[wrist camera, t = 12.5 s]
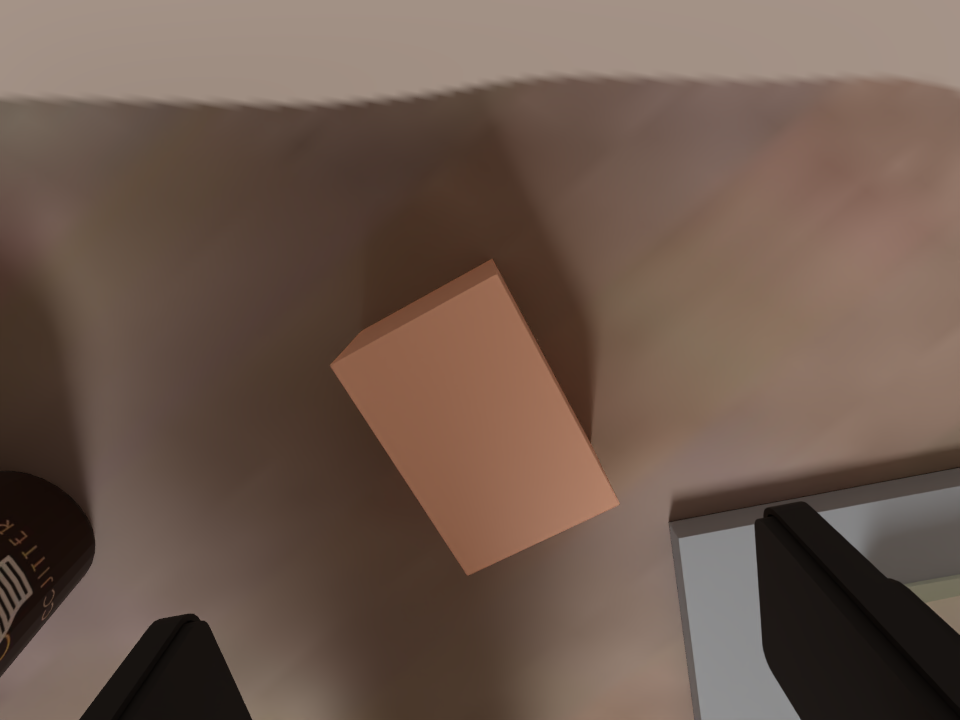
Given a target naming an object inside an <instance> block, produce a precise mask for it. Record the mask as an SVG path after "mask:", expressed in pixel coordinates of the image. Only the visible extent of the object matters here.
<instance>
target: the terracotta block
mask: <svg viewBox="0 0 960 720" xmlns="http://www.w3.org/2000/svg"><path fill="white" fill-rule="evenodd" d="M330 366H331V368H332V370H333V371H334V373H335V374H336V376H337V377H338V379H339V380H340V382H341V383H342V385H343V386H344V388H345V389H346V391H347V392H348V394H349V395H350V397H351V399H352V400H353V402H354V403H355V405H356V406H357V408H358V409H359V411H360V412H361V414H362V415H363V417H364V418H365V420H366V421H367V423H368V425H369V426H370V428H371V429H372V431H373V432H374V434H375V435H376V437H377V438H378V440H379V441H380V443H381V444H382V446H383V447H384V449H385V451H386V452H387V454H388V455H389V457H390V458H391V460H392V461H393V463H394V464H395V466H396V467H397V469H398V470H399V472H400V473H401V475H402V477H403V478H404V480H405V481H406V483H407V484H408V486H409V487H410V489H411V490H412V492H413V493H414V495H415V496H416V498H417V499H418V501H419V502H420V504H421V506H422V507H423V509H424V510H425V512H426V513H427V515H428V516H429V518H430V519H431V521H432V522H433V524H434V525H435V527H436V528H437V530H438V532H439V533H440V535H441V536H442V538H443V539H444V541H445V542H446V544H447V545H448V547H449V548H450V550H451V551H452V553H453V554H454V556H455V558H456V559H457V561H458V562H459V564H460V565H461V567H462V568H463V570H464V571H465V573H466V574H467V576H469V575H471V574H473V573H475V572H477V571H479V570H481V569H484V568H486V567H488V566H490V565H492V564H494V563H496V562H498V561H501V560H503V559H505V558H507V557H509V556H511V555H513V554H516V553H518V552H520V551H522V550H524V549H526V548H528V547H531V546H533V545H535V544H537V543H539V542H541V541H543V540H545V539H548V538H550V537H552V536H554V535H556V534H558V533H560V532H563V531H565V530H567V529H569V528H571V527H573V526H575V525H577V524H580V523H582V522H584V521H586V520H588V519H590V518H592V517H595V516H597V515H599V514H601V513H603V512H605V511H607V510H610V509H612V508H614V507H616V506H618V505H620V503H619V501H618V499H617V497H616V495H615V493H614V491H613V489H612V487H611V485H610V483H609V480H608V478H607V476H606V474H605V472H604V470H603V468H602V466H601V464H600V462H599V460H598V458H597V456H596V453H595V451H594V449H593V447H592V445H591V443H590V441H589V439H588V438H587V436H586V434H585V432H584V430H583V428H582V426H581V424H580V422H579V421H578V419H577V417H576V415H575V413H574V411H573V409H572V407H571V406H570V404H569V402H568V400H567V398H566V396H565V394H564V392H563V391H562V389H561V387H560V385H559V383H558V381H557V379H556V377H555V375H554V374H553V372H552V370H551V368H550V366H549V364H548V362H547V360H546V359H545V357H544V355H543V353H542V351H541V349H540V347H539V345H538V344H537V342H536V340H535V338H534V336H533V334H532V332H531V330H530V329H529V327H528V325H527V323H526V321H525V319H524V317H523V315H522V313H521V312H520V310H519V308H518V306H517V304H516V302H515V300H514V298H513V297H512V295H511V293H510V291H509V289H508V287H507V285H506V283H505V282H504V280H503V278H502V276H501V274H500V272H499V270H498V268H497V266H496V265H495V263H494V261H493V259H490V260H489V261H487V262H485V263H483V264H481V265H480V266H478V267H476V268H474V269H472V270H471V271H469V272H467V273H465V274H463V275H461V276H460V277H458V278H456V279H454V280H452V281H451V282H449V283H447V284H445V285H443V286H442V287H440V288H438V289H436V290H434V291H432V292H431V293H429V294H427V295H425V296H423V297H422V298H420V299H418V300H416V301H414V302H413V303H411V304H409V305H407V306H405V307H403V308H402V309H400V310H398V311H396V312H394V313H393V314H391V315H389V316H387V317H385V318H384V319H382V320H380V321H378V322H376V323H374V324H373V325H371V326H369V327H367V328H365V329H364V330H362V331H361V332H360V333H359V334H358V335H357V336H356V337H355V338H354V339H353V340H352V341H351V343H350V344H349V345H348V346H347V347H346V348H345V349H344V350H343V351H342V352H341V353H340V355H339V356H338V357H337V358H336V359H335V360H334V361H333V362H332V363H331V364H330Z"/></svg>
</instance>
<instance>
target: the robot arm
mask: <svg viewBox="0 0 960 720" xmlns="http://www.w3.org/2000/svg"><path fill="white" fill-rule="evenodd" d="M754 529H755V544H756V559H757V574H758V589H759V603H760V618H761V633H762V646H763V652H764V655H765V658H766V661H767V664H768V666H769V668H770V670H771V672H772V674H773V675H774V677H775V678H776V680H777V682H778V683H779V685H780V687H781V688H782V690H783V691H784V693H785V695H786V696H787V698H788V700H789V701H790V703H791V704H792V706H793V708H794V709H795V711H796V713H797V714H798V716H799V717H800V719H801V720H960V635H959V634H958V633H957V632H956V631H955V630H954V629H953V628H952V627H951V626H950V625H948V624H947V623H946V622H945V621H944V620H943V619H942V618H941V617H940V616H939V615H938V614H936V613H935V612H934V611H933V610H932V609H931V608H930V607H929V606H928V605H927V604H926V603H924V602H923V601H922V600H921V599H920V598H919V597H918V596H917V595H916V594H915V593H914V592H912V591H911V590H910V589H909V588H908V587H906V586H905V585H904V584H902V583H901V582H899V581H897V580H894V579H891V578H887V577H886V576H885V575H884V574H882V573H881V572H880V571H879V570H878V569H877V568H876V567H875V566H874V565H873V564H872V563H871V562H870V561H869V560H868V559H866V558H865V557H864V556H863V555H862V554H861V553H860V552H859V551H858V550H857V549H856V548H855V547H854V546H853V545H852V544H851V543H849V542H848V541H847V540H846V539H845V538H844V537H843V536H842V535H841V534H840V533H839V532H838V531H837V530H836V529H835V528H833V527H832V526H831V525H830V524H829V523H828V522H827V521H826V520H825V519H824V518H823V517H822V516H821V515H820V514H819V513H817V512H816V511H815V510H814V509H813V508H812V507H811V506H810V505H809V504H807V503H806V502H803V501H799V502H794V503H788V504H783V505H777V506H772V507H767V508H766V509H765V510H764V513H763V518H759V519H756V520H755V523H754ZM79 720H252V718H251V716H250V714H249V712H248V710H247V707H246V705H245V703H244V701H243V699H242V696H241V694H240V692H239V690H238V688H237V686H236V683H235V681H234V679H233V677H232V675H231V672H230V670H229V668H228V666H227V664H226V662H225V659H224V657H223V655H222V653H221V651H220V648H219V646H218V644H217V642H216V640H215V637H214V635H213V633H212V631H211V629H210V627H209V625H208V624H207V622H205V621H200V619H199V618H198V616H196V615H195V614H184V615H179V616H173V617H168V618H163V619H159V620H157V621H154V622H153V623H152V624H151V625H150V626H149V628H148V629H147V630H146V632H145V633H144V634H143V636H142V637H141V638H140V640H139V641H138V642H137V644H136V645H135V646H134V648H133V649H132V650H131V652H130V653H129V654H128V656H127V657H126V658H125V660H124V661H123V662H122V664H121V665H120V666H119V668H118V669H117V670H116V672H115V673H114V674H113V676H112V677H111V678H110V680H109V681H108V682H107V684H106V685H105V686H104V687H103V689H102V690H101V691H100V693H99V694H98V695H97V697H96V698H95V699H94V701H93V702H92V703H91V705H90V706H89V707H88V709H87V710H86V711H85V713H84V714H83V715H82V717H81V718H80V719H79Z"/></svg>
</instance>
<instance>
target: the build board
mask: <svg viewBox="0 0 960 720" xmlns="http://www.w3.org/2000/svg"><path fill="white" fill-rule="evenodd" d="M799 501H803V502H806V503H807V504H809V505H810V506H811V507H812V508H813V509H814V510H815V511H816V512H817V513H819V514H820V515H821V516H822V517H823V518H824V519H825V520H826V521H827V522H828V523H829V524H830V525H831V526H832V527H833V528H835V529H836V530H837V531H838V532H839V533H840V534H841V535H842V536H843V537H844V538H845V539H846V540H847V541H848V542H849V543H851V544H852V545H853V546H854V547H855V548H856V549H857V550H858V551H859V552H860V553H861V554H862V555H863V556H864V557H865V558H866V559H868V560H869V561H870V562H871V563H872V564H873V565H874V566H875V567H876V568H877V569H878V570H879V571H880V572H881V573H882V574H884V575H885V576H886V577H887V578H891V579H894V580H897V581H899V582H901V583H902V584H904V585H905V586H906V587H908V588H909V589H910V590H911V591H912V592H914V593H915V594H916V595H917V596H918V597H919V598H920V599H921V600H922V601H923V602H924V603H926V602H931V601H936V600H941V599H946V598H951V597H956V596H960V468H955V469H950V470H945V471H939V472H934V473H929V474H923V475H918V476H913V477H908V478H902V479H897V480H892V481H886V482H881V483H876V484H870V485H865V486H860V487H854V488H849V489H844V490H838V491H833V492H828V493H822V494H817V495H812V496H807V497H801V498H796V499H791V500H785V501H780V502H775V503H769V504H764V505H759V506H753V507H748V508H743V509H737V510H732V511H727V512H721V513H716V514H711V515H706V516H700V517H695V518H690V519H684V520H679V521H674V522H669V528H670V535H671V543H672V551H673V558H674V566H675V574H676V581H677V589H678V597H679V604H680V612H681V620H682V627H683V635H684V643H685V650H686V658H687V666H688V673H689V681H690V689H691V696H692V704H693V712H694V719H695V720H801V719H800V717H799V716H798V714H797V713H796V711H795V709H794V708H793V706H792V704H791V703H790V701H789V700H788V698H787V696H786V695H785V693H784V691H783V690H782V688H781V687H780V685H779V683H778V682H777V680H776V678H775V677H774V675H773V674H772V672H771V670H770V668H769V666H768V664H767V661H766V658H765V655H764V652H763V646H762V633H761V618H760V603H759V589H758V574H757V559H756V544H755V529H754V523H755V520H756V519H759V518H763V513H764V510H765V509H766V508H767V507H772V506H777V505H783V504H788V503H794V502H799Z"/></svg>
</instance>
